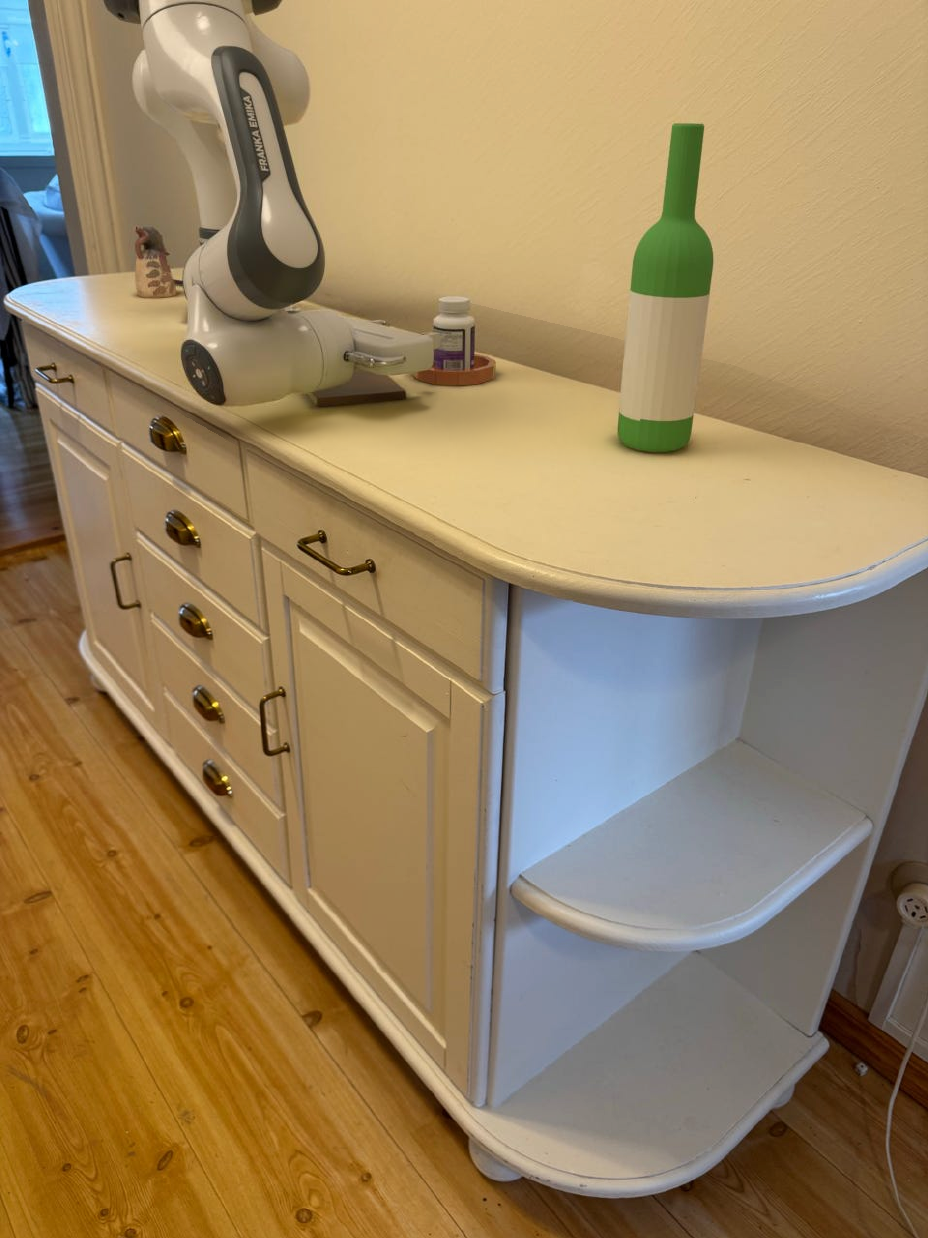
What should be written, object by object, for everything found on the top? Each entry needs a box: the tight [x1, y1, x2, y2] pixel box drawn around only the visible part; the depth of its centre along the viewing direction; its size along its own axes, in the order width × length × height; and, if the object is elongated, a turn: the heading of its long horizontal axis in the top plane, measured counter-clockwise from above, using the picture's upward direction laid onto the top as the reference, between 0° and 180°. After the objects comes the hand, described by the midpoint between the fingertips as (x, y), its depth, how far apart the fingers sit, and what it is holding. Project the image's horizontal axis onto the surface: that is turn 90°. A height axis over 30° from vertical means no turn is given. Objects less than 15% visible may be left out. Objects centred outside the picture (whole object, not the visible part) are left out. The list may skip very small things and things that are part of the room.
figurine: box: [134, 225, 178, 299], centre depth 170 cm, size 7×7×12 cm
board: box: [306, 369, 407, 408], centre depth 120 cm, size 22×11×1 cm, turn 21°
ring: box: [411, 353, 497, 387], centre depth 122 cm, size 11×11×2 cm
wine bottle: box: [616, 122, 714, 453], centre depth 91 cm, size 8×8×30 cm
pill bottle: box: [433, 295, 476, 370], centre depth 121 cm, size 5×5×10 cm
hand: (410, 333), depth 115 cm, fingers open, 8 cm apart
